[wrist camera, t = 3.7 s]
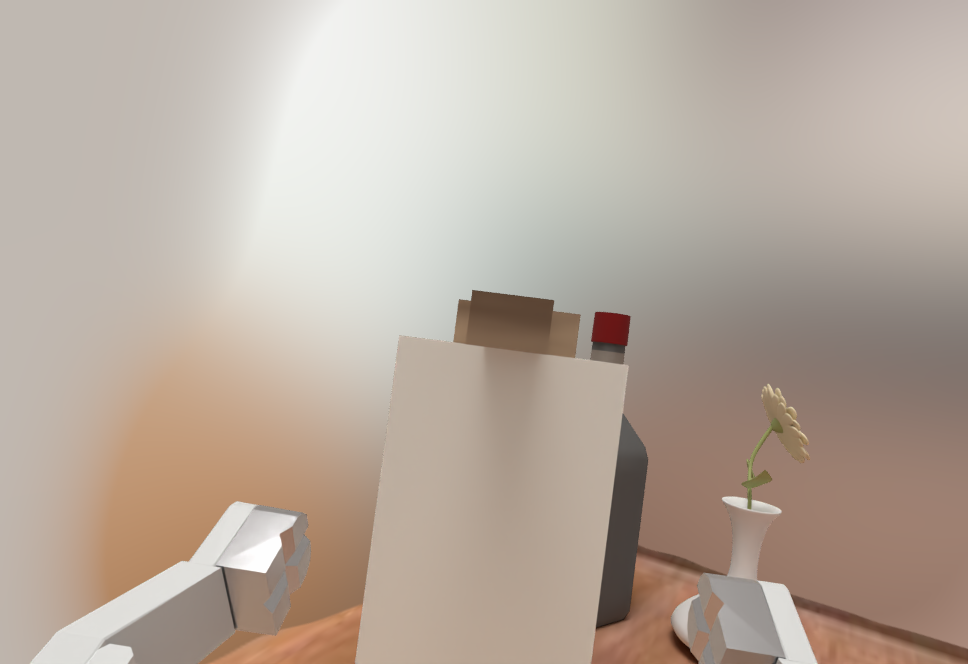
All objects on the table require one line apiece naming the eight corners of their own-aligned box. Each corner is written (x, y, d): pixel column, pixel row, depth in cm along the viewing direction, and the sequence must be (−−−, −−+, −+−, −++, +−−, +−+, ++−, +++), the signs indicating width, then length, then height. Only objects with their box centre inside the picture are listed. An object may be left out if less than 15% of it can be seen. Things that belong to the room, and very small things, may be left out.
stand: (566, 860, 29) (628, 365, 29) (334, 814, 30) (399, 335, 30) (551, 665, 47) (590, 360, 47) (406, 640, 48) (446, 341, 48)
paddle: (602, 362, 21) (611, 293, 21) (412, 337, 21) (420, 270, 21) (565, 356, 41) (569, 321, 41) (467, 344, 41) (472, 309, 41)
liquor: (579, 636, 52) (620, 309, 53) (513, 594, 60) (550, 306, 60) (640, 616, 58) (676, 322, 59) (573, 580, 65) (606, 318, 66)
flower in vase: (797, 712, 45) (835, 392, 45) (652, 653, 51) (687, 373, 52) (810, 650, 56) (840, 393, 56) (689, 607, 62) (717, 377, 63)
